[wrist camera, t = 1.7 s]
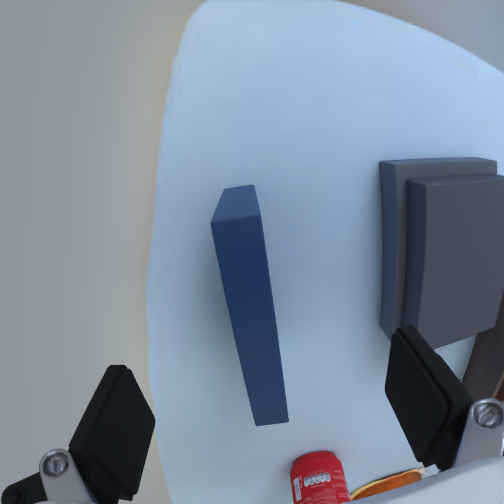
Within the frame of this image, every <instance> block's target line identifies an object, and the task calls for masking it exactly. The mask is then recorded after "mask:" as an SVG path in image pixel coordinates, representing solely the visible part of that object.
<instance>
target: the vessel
mask: <svg viewBox="0 0 504 504" xmlns="http://www.w3.org/2000/svg"><path fill="white" fill-rule="evenodd" d="M426 472H427V471H424V467H423V468H421V469H419V470H417V468H415V469H413V470H410V471H407V472H404V473H402V474H399V475H394V476H391V477H388V478H385V479H381V480H377V481H374V482H371V483H369V484H367V485H365V486H363V487H361V488H359V489H357V490H356V491H354V492H353V494H352V495H350V499H351V501H354V500H358V499H362V498H366V497H369V496H373V495H376V494H380V493H383V492H386V491H389V490H393V489H396V488H399V487H402V486H405V485H408V484H411V483H414V482H417V481H419V480H422V479H425V478H423V476H425V475H426V474H425V473H426Z"/></svg>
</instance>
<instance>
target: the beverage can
mask: <svg viewBox="0 0 504 504" xmlns="http://www.w3.org/2000/svg"><path fill="white" fill-rule="evenodd" d="M290 477H291V485H292V493H293V501H294V504H341V503H345V502H350V501H351V499H350V495H349V491H348V487H347V483H346V479H345V476H344V472H343V468H342V464H341V462H340V460H339V459H337V458H336V456H335V454H334V453H332V452H329V451H315V452H310V453H307V454H304V455H302V456H300V457H298V458H297V459H296V460H295V461H294V462H293V467H292V469H291V472H290Z"/></svg>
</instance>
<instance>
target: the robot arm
mask: <svg viewBox="0 0 504 504" xmlns="http://www.w3.org/2000/svg"><path fill="white" fill-rule="evenodd" d="M385 393H386V396H387V398H388V400H389V402H390V404H391V406H392V408H393V410H394V412H395V415H396V417H397V419H398V421H399V423H400V425H401V427H402V429H403V431H404V434H405V436H406V438H407V440H408V442H409V444H410V447H411V449H412V451H413V453H414V455H415V458H416V460H417V461H418V462H422V463H423V465H424V467H425V468H426V467H429V466H431V465H433V464H436V466H437V468H438V469H439V471H438V474H435V475H432V476H430V477H427V478H425V479H422V480H419V481H417V482H414V483H411V484H408V485H405V486H402V487H399V488H396V489H393V490H389V491H386V492H383V493H380V494H376V495H373V496H369V497H366V498H362V499H358V500H354V501H350V502H345V503H341V504H504V405H503V403H502V402H500V401H498V400H497V399H493V398H482V399H479V400H477V401H476V402H475V401H474V400H473V398H472V397H471V396H470V394H469V393H468V392H467V390H466V389H465V387H464V386H463V385H462V383H461V382H460V381H459V379H458V378H457V377H456V375H455V374H454V373H453V372H452V370H451V369H450V368H449V366H448V365H447V364H446V362H445V361H444V360H443V359H442V357H441V356H440V355H439V354H436V353H435V352H434V350H433V349H432V348H431V347H430V345H429V344H428V343H427V341H426V340H425V339H424V338H423V336H422V335H421V334H420V333H419V332H418V330H417V329H416V328H415V327H414V326H413V325H408V326H404V327H400V328H397V329H396V333H393V334H392V338H391V346H390V355H389V362H388V369H387V376H386V382H385ZM154 427H155V417H154V415H153V413H152V411H151V409H150V407H149V406H148V404H147V402H146V400H145V398H144V396H143V394H142V392H141V390H140V388H139V386H138V384H137V382H136V379H135V377H134V375H133V373H132V371H131V370H130V369H127V367H126V366H125V365H110V366H109V367H108V368H107V370H106V372H105V374H104V376H103V378H102V380H101V381H100V383H99V385H98V387H97V389H96V391H95V393H94V395H93V397H92V399H91V401H90V403H89V405H88V407H87V409H86V411H85V413H84V415H83V417H82V419H81V421H80V423H79V425H78V427H77V429H76V431H75V433H74V435H73V437H72V439H71V441H70V444H69V447H70V448H69V450H68V451H66V450H64V449H54V450H51V451H49V452H47V453H46V454H45V455H44V456H43V457H42V459H41V460H40V464H39V471H40V472H38V473H36V474H34V475H31V476H29V477H27V478H25V479H23V480H21V481H19V482H16V483H14V484H12V485H10V486H8V487H7V488H6V489H5V490H4V492H3V494H2V498H1V501H2V504H118V500H119V499H122V500H128V501H132V499H133V495H135V494H137V492H138V489H139V485H140V480H141V477H142V472H143V469H144V465H145V461H146V457H147V453H148V449H149V445H150V442H151V438H152V434H153V431H154Z"/></svg>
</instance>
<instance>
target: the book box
mask: <svg viewBox="0 0 504 504" xmlns="http://www.w3.org/2000/svg"><path fill="white" fill-rule="evenodd" d="M462 385H463V386H464V387H465V389H466V390H467V392H468V393H469V394H470V396H471V397H472V398H473V400H474V401H475V402H476V401H477V400H479V399H482V398H493V399H497V400H498V401H500V402H502V403H504V291H503V295H502V300H501V304H500V308H499V312H498V316H497V320H496V324H495V326H494V327H493V328H491V329H488V330H486V331H483V332H481V333H478V335H477V339H476V342H475V346H474V349H473V352H472V356H471V359H470V362H469V365H468V368H467V371H466V374H465V376H464V379H463V382H462Z"/></svg>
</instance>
